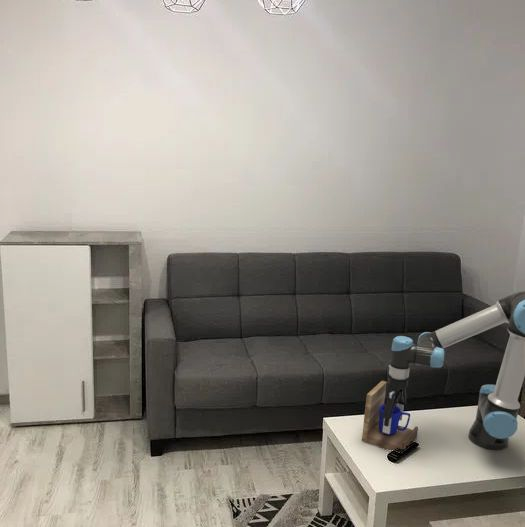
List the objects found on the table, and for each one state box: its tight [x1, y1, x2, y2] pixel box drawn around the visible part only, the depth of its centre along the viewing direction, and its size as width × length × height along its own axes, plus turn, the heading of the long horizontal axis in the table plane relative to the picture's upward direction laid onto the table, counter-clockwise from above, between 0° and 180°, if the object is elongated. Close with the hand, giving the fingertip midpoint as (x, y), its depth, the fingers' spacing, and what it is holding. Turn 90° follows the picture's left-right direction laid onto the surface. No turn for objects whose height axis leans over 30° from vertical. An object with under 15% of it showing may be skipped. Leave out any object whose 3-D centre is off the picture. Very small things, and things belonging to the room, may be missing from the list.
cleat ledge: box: [365, 424, 419, 452], centre depth 242 cm, size 15×16×5 cm
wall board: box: [361, 380, 388, 443], centre depth 245 cm, size 2×16×20 cm, turn 148°
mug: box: [379, 403, 411, 435], centre depth 242 cm, size 8×12×10 cm
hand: (392, 425), depth 242 cm, fingers open, 13 cm apart
